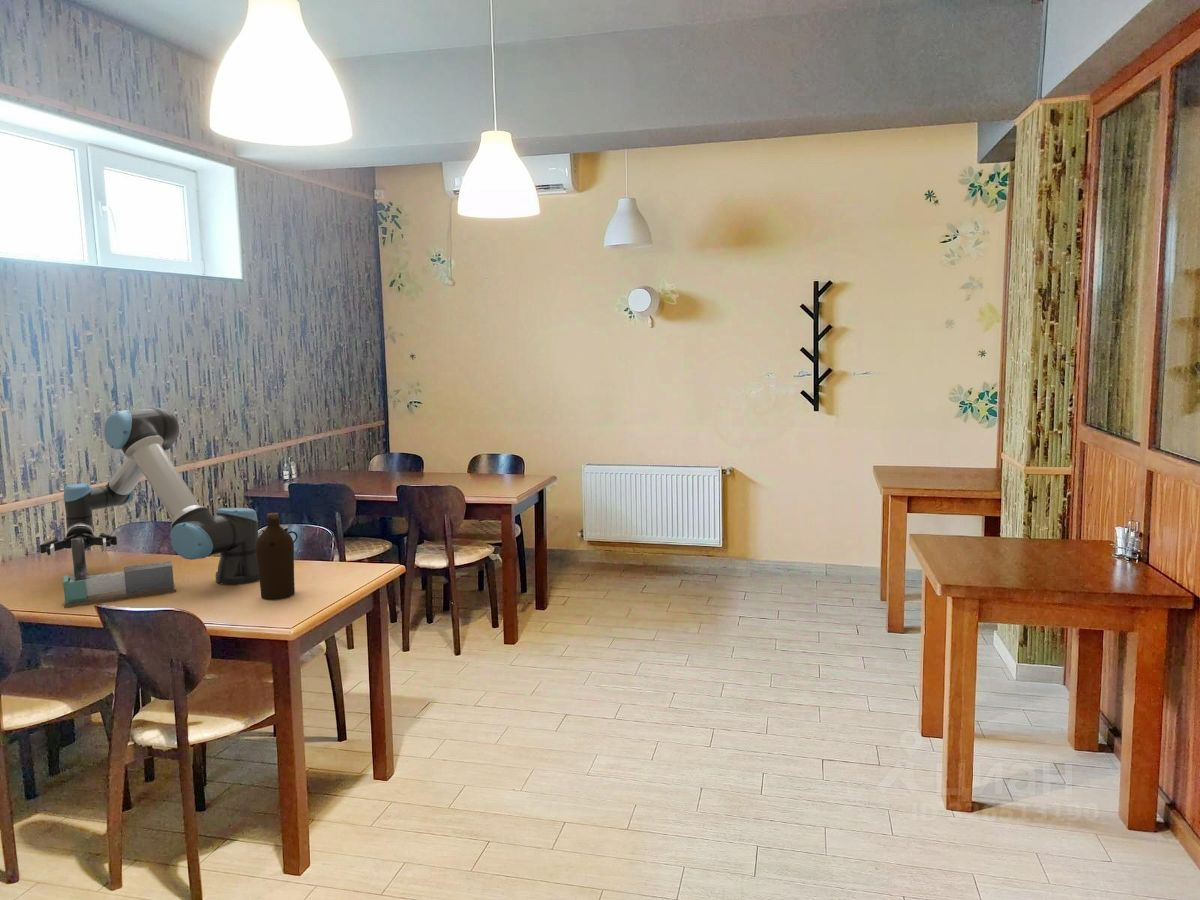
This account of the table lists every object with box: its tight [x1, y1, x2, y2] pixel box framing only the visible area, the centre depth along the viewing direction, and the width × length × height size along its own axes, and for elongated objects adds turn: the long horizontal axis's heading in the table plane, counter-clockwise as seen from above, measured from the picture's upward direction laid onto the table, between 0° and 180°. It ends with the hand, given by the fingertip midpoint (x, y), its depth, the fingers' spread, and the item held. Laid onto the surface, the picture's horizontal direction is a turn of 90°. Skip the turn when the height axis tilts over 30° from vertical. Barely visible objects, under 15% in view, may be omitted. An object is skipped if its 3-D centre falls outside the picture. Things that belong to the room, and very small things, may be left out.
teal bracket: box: [62, 574, 88, 604], centre depth 247 cm, size 6×7×6 cm
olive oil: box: [256, 512, 296, 601], centre depth 249 cm, size 11×11×25 cm
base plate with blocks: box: [63, 560, 177, 609], centre depth 253 cm, size 29×10×8 cm, turn 121°
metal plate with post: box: [70, 537, 126, 596], centre depth 250 cm, size 16×5×17 cm, turn 120°
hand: (78, 549), depth 253 cm, fingers open, 13 cm apart
